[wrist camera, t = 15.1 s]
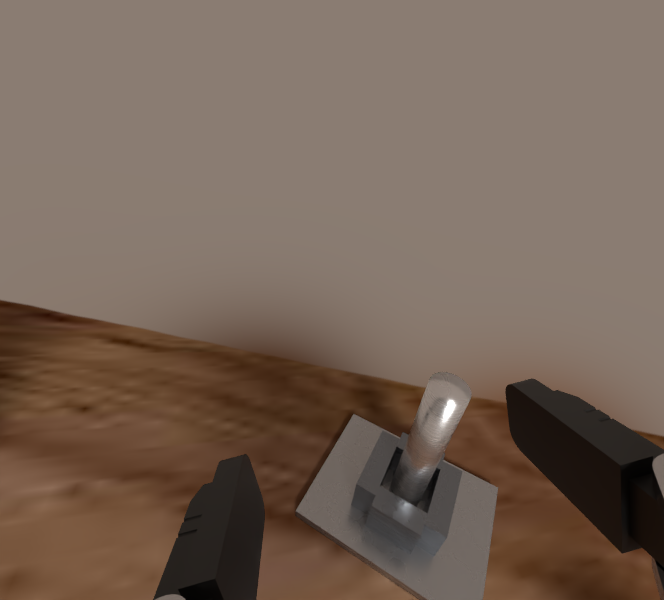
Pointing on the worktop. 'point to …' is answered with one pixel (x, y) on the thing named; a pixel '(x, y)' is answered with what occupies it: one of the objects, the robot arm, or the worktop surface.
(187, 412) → the worktop surface
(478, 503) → the chuck block
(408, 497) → the steel rod
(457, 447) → the worktop surface
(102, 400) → the worktop surface
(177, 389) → the worktop surface
